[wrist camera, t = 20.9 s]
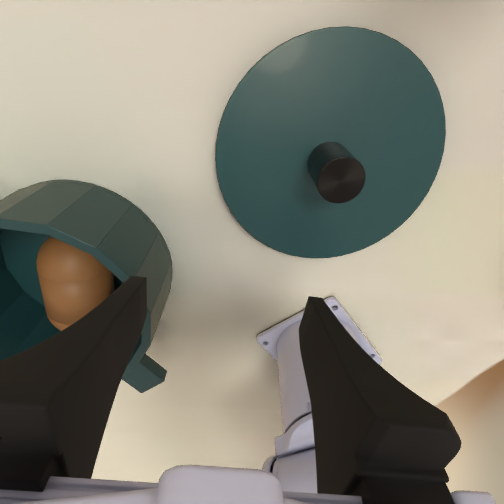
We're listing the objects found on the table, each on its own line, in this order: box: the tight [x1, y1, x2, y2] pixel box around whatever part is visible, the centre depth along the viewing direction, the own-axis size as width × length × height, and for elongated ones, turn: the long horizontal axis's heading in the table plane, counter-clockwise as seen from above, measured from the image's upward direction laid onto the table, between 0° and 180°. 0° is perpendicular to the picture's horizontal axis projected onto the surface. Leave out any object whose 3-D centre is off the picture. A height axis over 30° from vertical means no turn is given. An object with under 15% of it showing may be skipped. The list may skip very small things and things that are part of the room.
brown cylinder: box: [36, 237, 115, 331], centre depth 24 cm, size 8×5×5 cm, turn 171°
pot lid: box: [215, 27, 446, 258], centre depth 20 cm, size 14×14×5 cm
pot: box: [0, 180, 172, 393], centre depth 23 cm, size 13×19×6 cm
